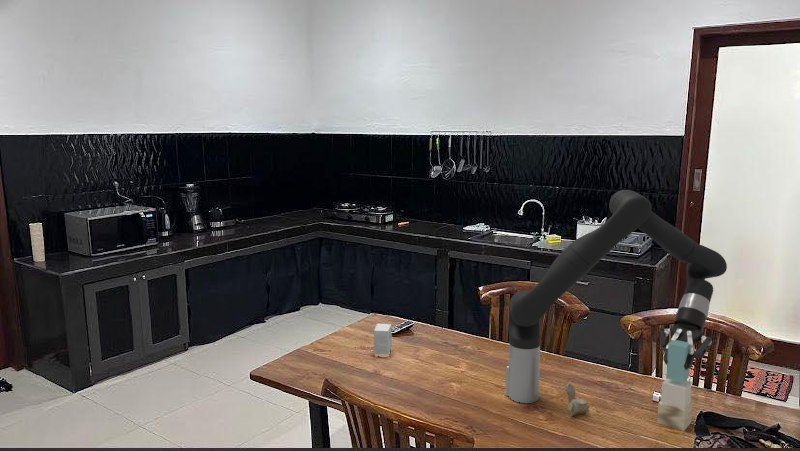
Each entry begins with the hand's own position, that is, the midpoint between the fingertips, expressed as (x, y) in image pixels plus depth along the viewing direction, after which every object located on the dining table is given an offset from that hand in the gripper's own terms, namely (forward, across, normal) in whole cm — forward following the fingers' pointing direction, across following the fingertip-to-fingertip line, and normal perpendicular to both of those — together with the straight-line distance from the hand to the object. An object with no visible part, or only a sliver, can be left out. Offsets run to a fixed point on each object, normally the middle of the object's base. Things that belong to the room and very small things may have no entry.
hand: (676, 365), depth 155 cm
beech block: (+11, 0, +14) cm, 18 cm away
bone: (+20, -23, +5) cm, 31 cm away
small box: (+23, -98, +2) cm, 101 cm away
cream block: (+7, 0, +9) cm, 12 cm away
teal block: (+2, 0, +4) cm, 5 cm away
